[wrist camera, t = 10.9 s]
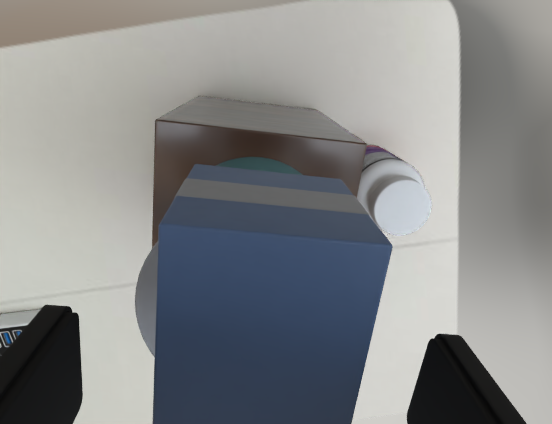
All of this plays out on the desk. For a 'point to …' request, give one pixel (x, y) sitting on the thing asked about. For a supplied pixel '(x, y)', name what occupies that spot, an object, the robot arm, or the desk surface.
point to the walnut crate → (249, 143)
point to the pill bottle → (393, 192)
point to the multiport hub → (13, 326)
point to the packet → (264, 299)
